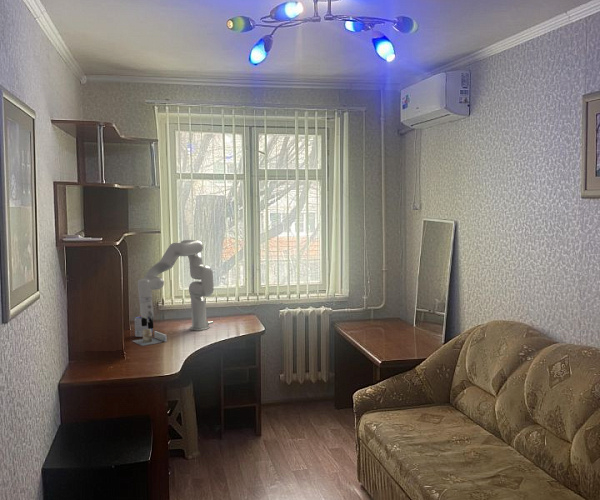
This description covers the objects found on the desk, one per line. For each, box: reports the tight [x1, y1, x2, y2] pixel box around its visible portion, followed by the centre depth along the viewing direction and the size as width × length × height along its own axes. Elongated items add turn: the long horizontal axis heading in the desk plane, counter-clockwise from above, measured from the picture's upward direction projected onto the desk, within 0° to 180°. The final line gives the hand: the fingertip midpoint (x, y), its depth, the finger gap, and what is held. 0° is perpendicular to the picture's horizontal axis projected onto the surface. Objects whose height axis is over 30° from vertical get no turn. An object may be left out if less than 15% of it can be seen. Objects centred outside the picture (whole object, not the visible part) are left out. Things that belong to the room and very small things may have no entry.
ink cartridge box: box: [134, 316, 154, 338], centre depth 374 cm, size 10×6×14 cm, turn 78°
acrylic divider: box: [153, 330, 168, 343], centre depth 363 cm, size 1×16×4 cm, turn 37°
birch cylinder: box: [142, 329, 153, 342], centre depth 358 cm, size 5×5×7 cm
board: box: [131, 336, 163, 347], centre depth 359 cm, size 13×16×1 cm
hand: (147, 327), depth 358 cm, fingers open, 9 cm apart
